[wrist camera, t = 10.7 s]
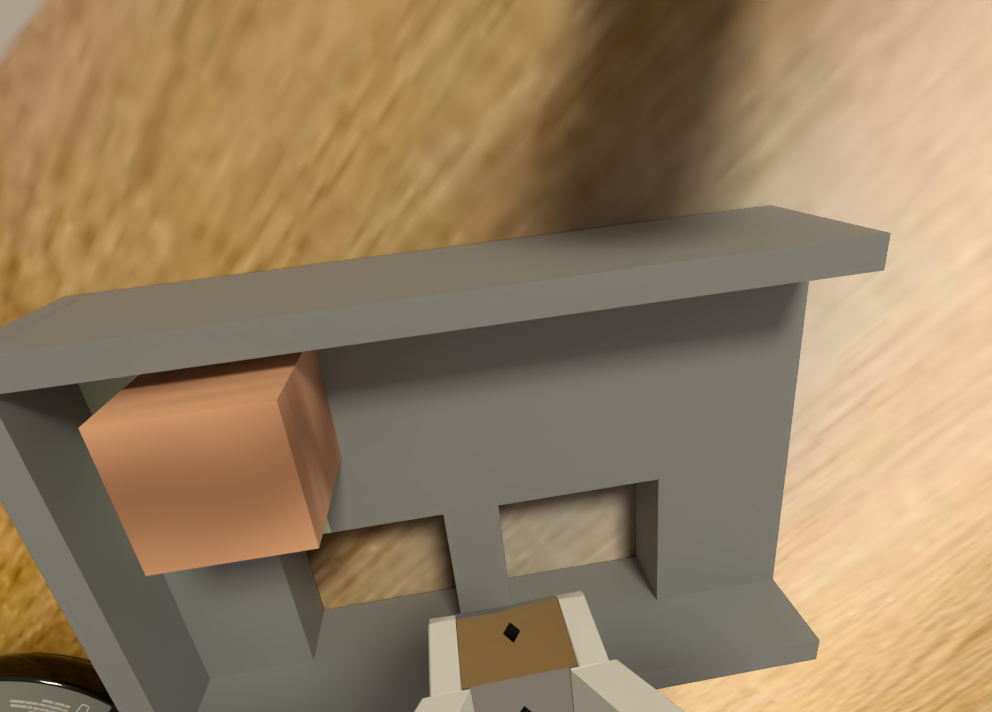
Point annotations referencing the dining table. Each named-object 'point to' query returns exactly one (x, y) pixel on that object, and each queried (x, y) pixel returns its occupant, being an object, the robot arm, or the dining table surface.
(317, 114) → the dining table surface
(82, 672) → the supplement container
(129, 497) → the block
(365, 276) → the tray
